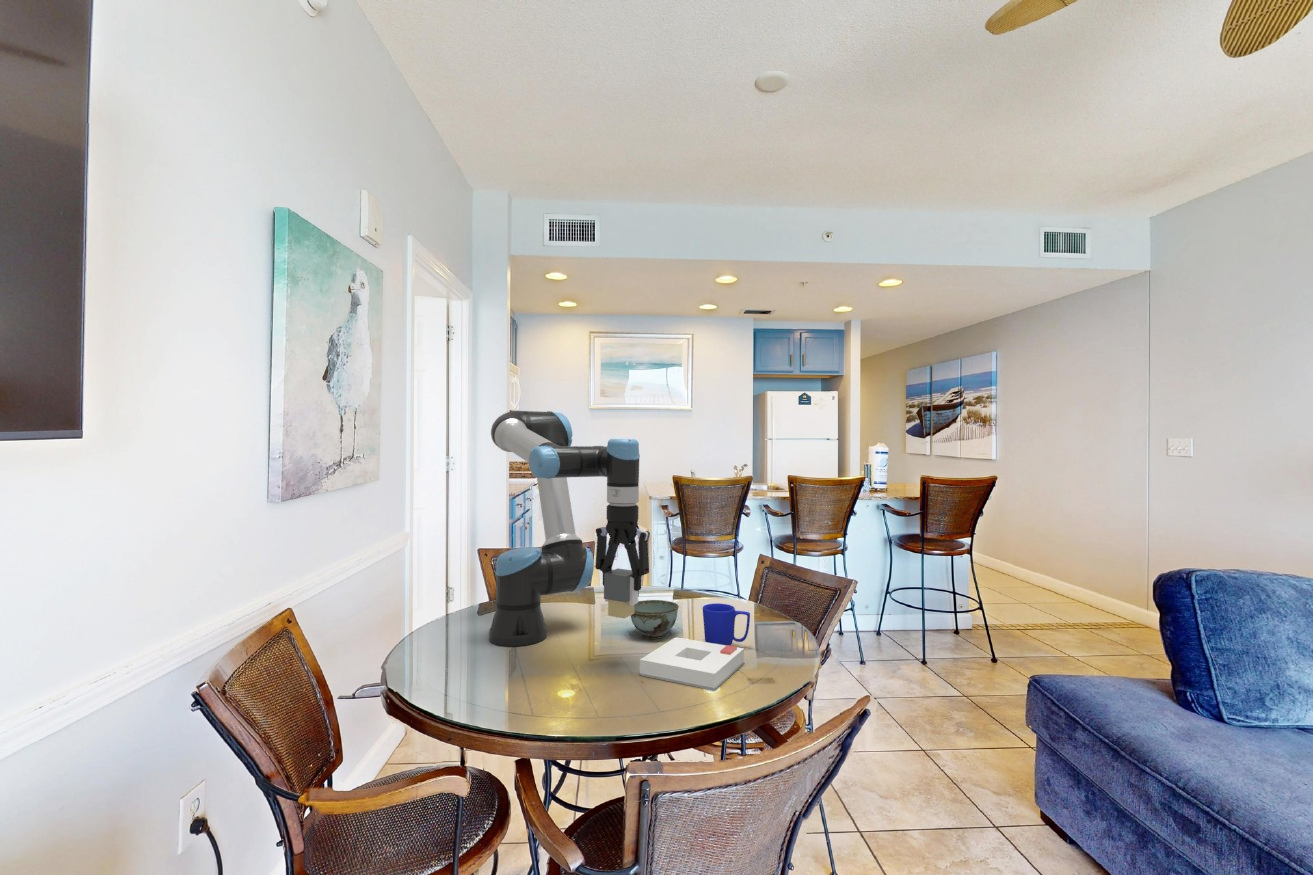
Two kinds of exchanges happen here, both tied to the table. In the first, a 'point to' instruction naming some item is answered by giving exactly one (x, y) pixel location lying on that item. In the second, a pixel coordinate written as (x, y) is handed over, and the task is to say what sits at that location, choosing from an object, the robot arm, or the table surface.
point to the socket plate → (692, 663)
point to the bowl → (654, 617)
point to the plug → (618, 593)
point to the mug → (721, 623)
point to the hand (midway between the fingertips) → (621, 601)
